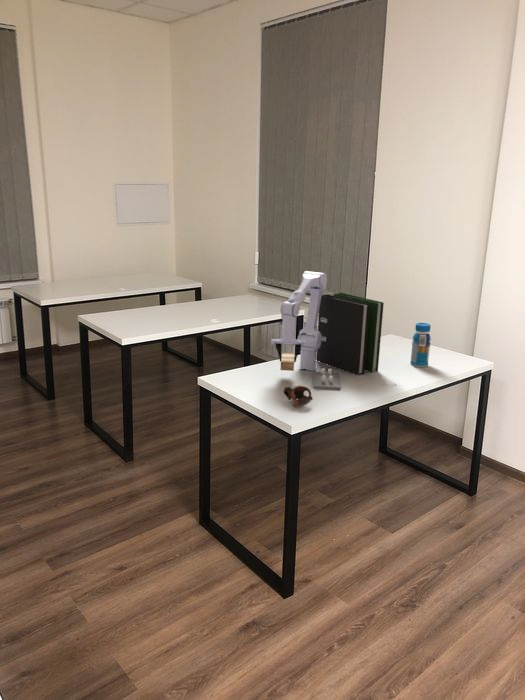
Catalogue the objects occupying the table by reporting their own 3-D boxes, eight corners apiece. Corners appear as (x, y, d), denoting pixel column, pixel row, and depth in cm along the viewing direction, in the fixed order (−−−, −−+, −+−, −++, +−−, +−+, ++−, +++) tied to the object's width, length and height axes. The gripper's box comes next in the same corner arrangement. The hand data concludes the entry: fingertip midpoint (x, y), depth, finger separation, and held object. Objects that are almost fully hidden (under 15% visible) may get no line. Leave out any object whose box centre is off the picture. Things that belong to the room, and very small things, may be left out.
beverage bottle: (406, 364, 279) (410, 323, 274) (416, 361, 285) (420, 321, 279) (421, 368, 273) (425, 327, 268) (431, 365, 279) (436, 324, 273)
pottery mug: (314, 402, 228) (317, 388, 222) (304, 419, 222) (307, 405, 216) (286, 390, 232) (288, 376, 226) (276, 406, 226) (278, 393, 220)
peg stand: (313, 373, 261) (313, 364, 260) (338, 375, 260) (338, 366, 259) (313, 388, 242) (314, 379, 241) (340, 390, 241) (341, 380, 240)
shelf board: (281, 360, 257) (282, 353, 256) (294, 361, 257) (294, 353, 256) (280, 370, 244) (280, 362, 243) (293, 370, 243) (293, 362, 242)
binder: (378, 371, 268) (384, 302, 259) (356, 376, 259) (361, 305, 251) (337, 356, 289) (341, 292, 280) (315, 361, 280) (318, 295, 271)
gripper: (271, 331, 243) (270, 362, 246) (306, 333, 242) (304, 364, 245) (272, 327, 250) (271, 358, 253) (306, 329, 249) (304, 359, 252)
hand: (287, 361), depth 250 cm, fingers closed on shelf board, 5 cm apart
